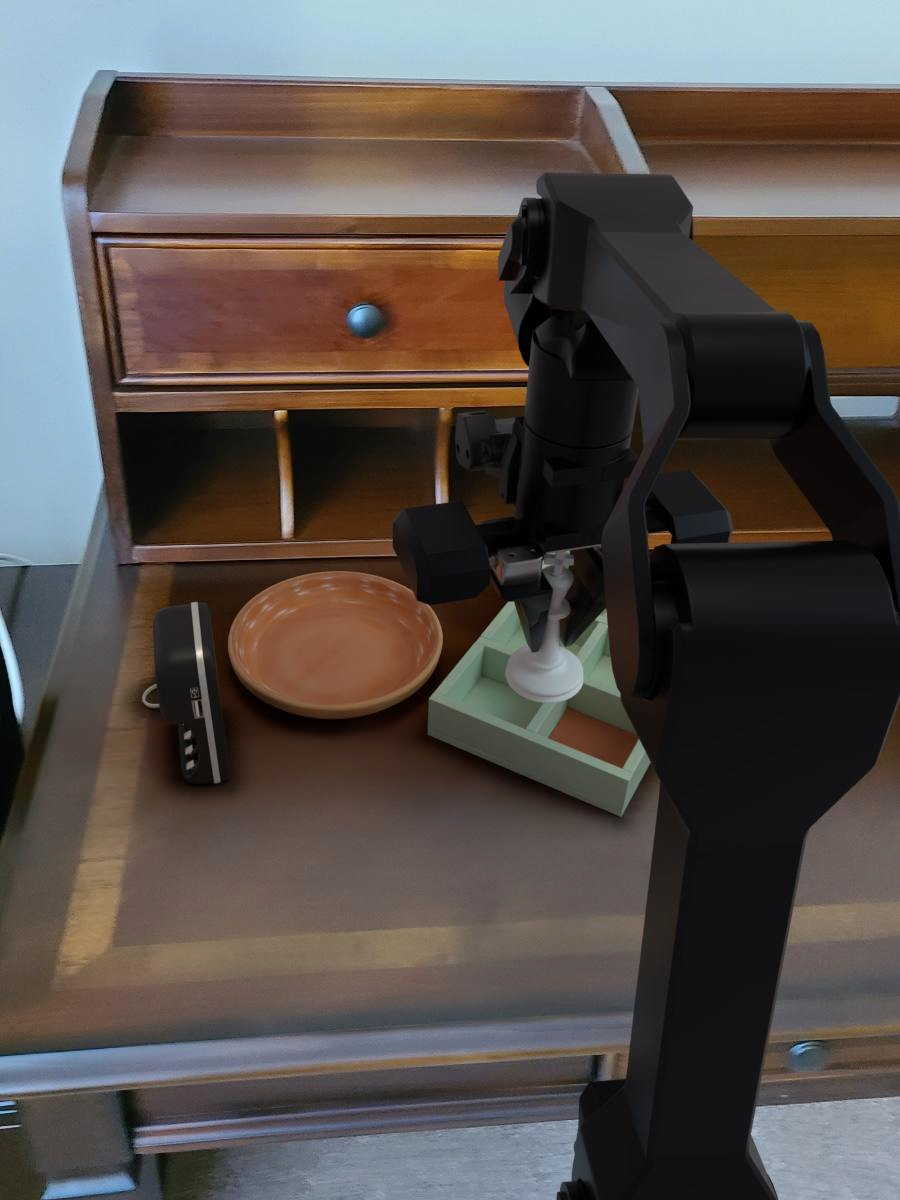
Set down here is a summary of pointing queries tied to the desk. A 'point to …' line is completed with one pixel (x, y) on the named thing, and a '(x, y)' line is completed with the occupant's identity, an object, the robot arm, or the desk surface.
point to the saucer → (335, 644)
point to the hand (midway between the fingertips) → (548, 644)
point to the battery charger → (191, 690)
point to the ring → (146, 695)
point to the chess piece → (549, 647)
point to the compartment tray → (543, 718)
